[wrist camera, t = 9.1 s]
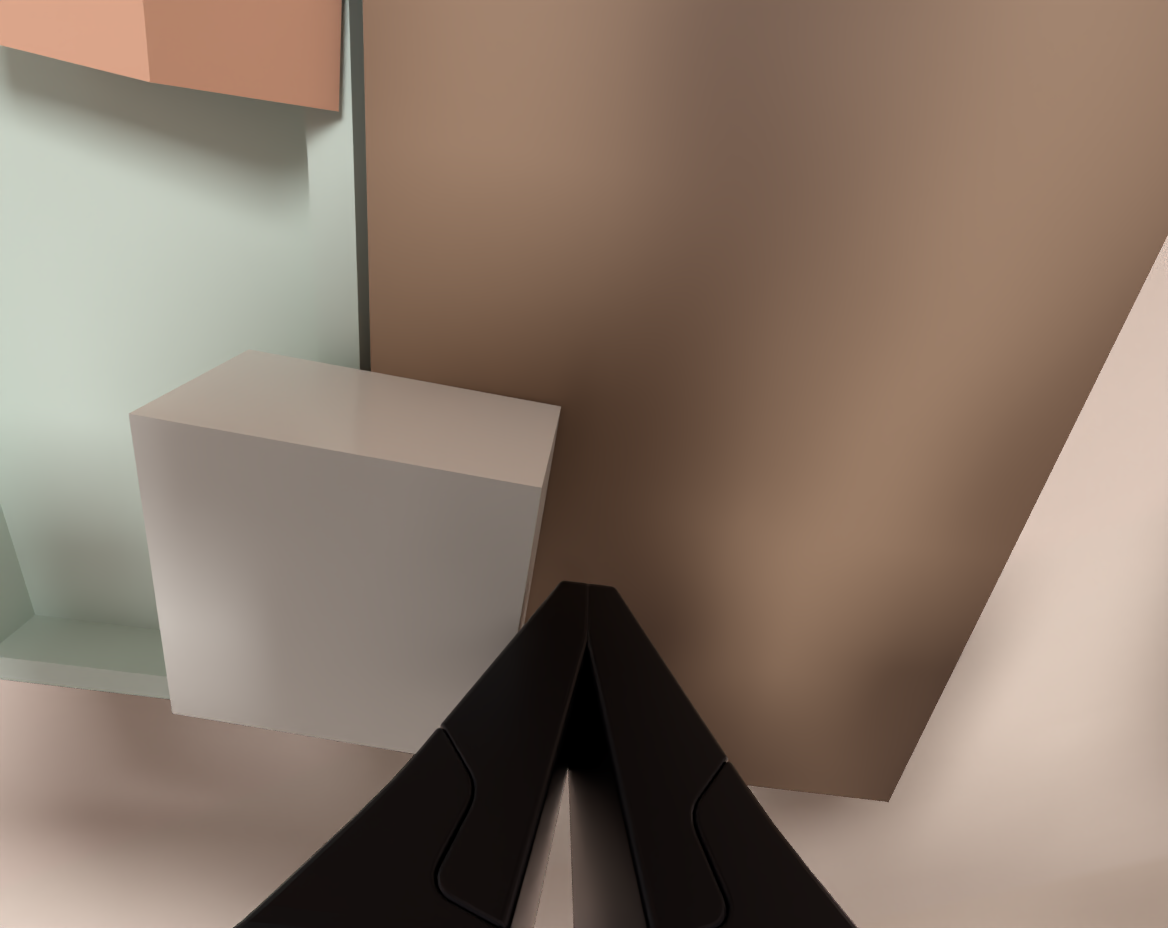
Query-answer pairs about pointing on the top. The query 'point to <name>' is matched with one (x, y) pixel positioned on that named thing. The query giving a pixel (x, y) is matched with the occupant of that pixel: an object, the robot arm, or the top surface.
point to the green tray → (147, 318)
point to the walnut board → (774, 311)
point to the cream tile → (337, 543)
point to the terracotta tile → (192, 43)
